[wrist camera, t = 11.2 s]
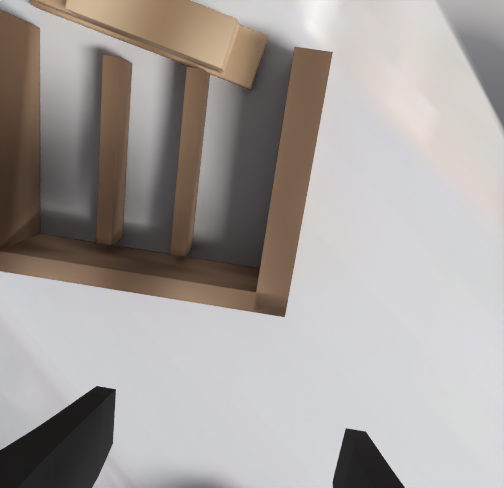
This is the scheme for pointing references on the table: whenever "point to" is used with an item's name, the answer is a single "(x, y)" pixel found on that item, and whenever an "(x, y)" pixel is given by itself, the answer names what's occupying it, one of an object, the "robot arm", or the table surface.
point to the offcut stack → (173, 32)
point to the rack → (114, 178)
